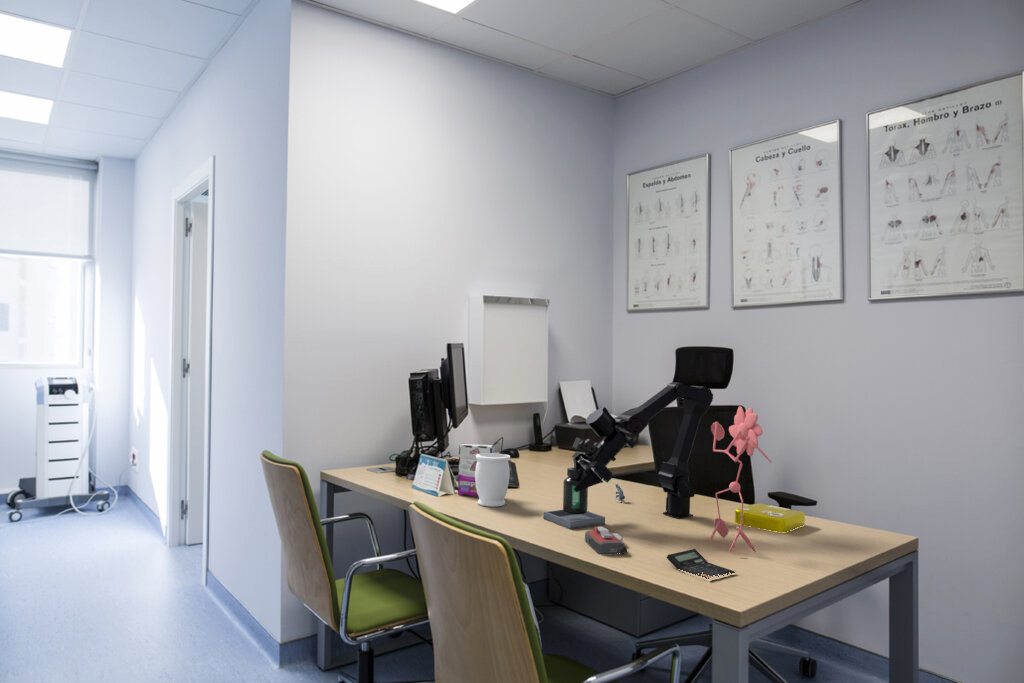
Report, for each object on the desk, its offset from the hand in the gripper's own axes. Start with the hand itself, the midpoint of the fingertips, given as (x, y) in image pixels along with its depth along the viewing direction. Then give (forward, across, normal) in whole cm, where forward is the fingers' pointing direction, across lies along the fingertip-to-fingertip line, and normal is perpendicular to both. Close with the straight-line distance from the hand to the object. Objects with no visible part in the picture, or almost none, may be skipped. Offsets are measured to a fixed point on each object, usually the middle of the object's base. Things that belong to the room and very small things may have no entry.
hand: (570, 487), depth 183 cm
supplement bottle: (+4, 0, +6) cm, 7 cm away
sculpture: (-10, -23, +25) cm, 35 cm away
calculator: (-4, +44, +18) cm, 47 cm away
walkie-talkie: (+6, +21, +8) cm, 24 cm away
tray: (+6, 0, +7) cm, 9 cm away
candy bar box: (+21, -36, -8) cm, 42 cm away
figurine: (-19, +28, +33) cm, 47 cm away
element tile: (-33, +8, +48) cm, 59 cm away
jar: (+19, -23, -6) cm, 31 cm away
